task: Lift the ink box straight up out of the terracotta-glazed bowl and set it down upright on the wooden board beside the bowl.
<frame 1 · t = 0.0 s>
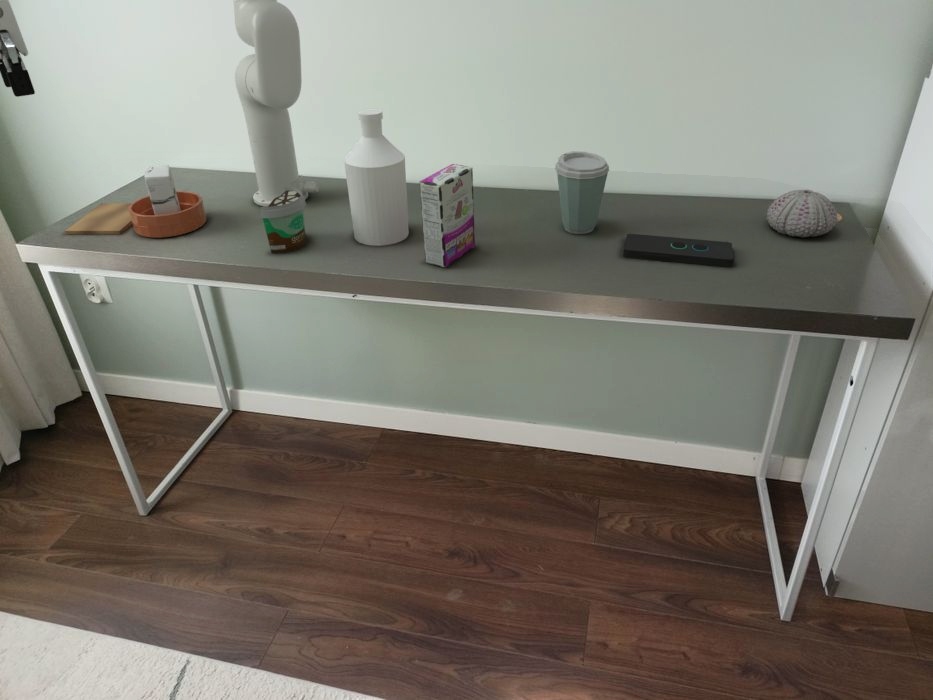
hand: (20, 90, 125), 31 cm above the table, tool pointing down, fingers open, 9 cm apart
disposable coffee cup: (577, 229, 146), on the table
ink box: (171, 224, 152), resting on bowl
candy bar box: (449, 256, 137), on the table
wooden board: (111, 219, 155), on the table
sea urchin shell: (797, 229, 144), on the table
bottle: (381, 235, 146), on the table
bowl: (171, 225, 152), on the table
food container: (295, 245, 142), on the table
smart home device: (676, 254, 135), on the table
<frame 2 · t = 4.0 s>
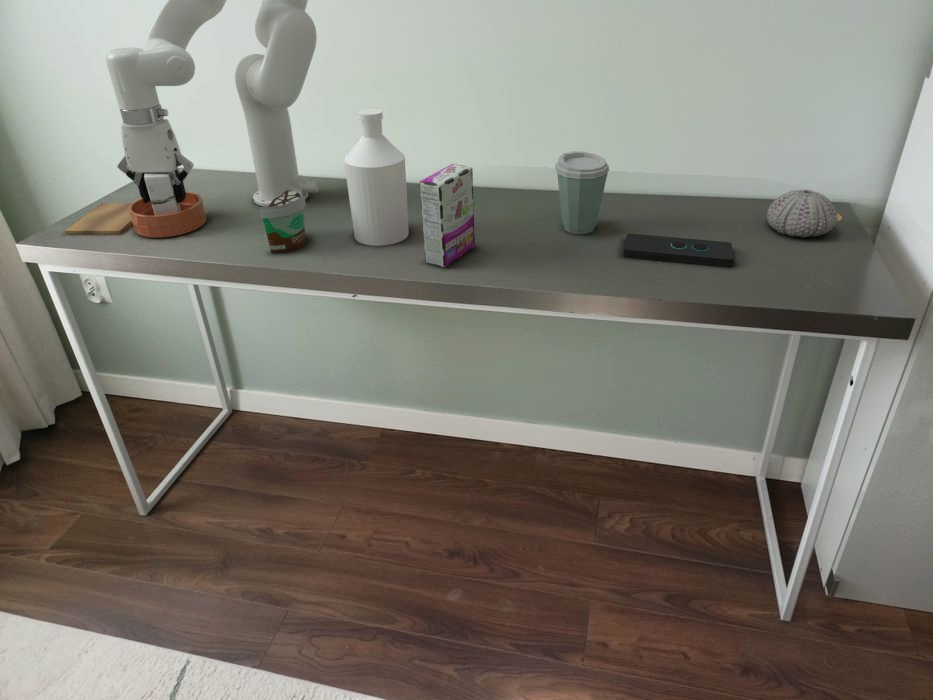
hand: (164, 200, 149), 6 cm above the table, tool pointing down, fingers closed on ink box, 6 cm apart
ink box: (171, 224, 152), resting on bowl, touching gripper
everything else where it was.
when the fingers open (6 cm above the table, at t = 11.5 s): ink box stays where it is, resting on wooden board.
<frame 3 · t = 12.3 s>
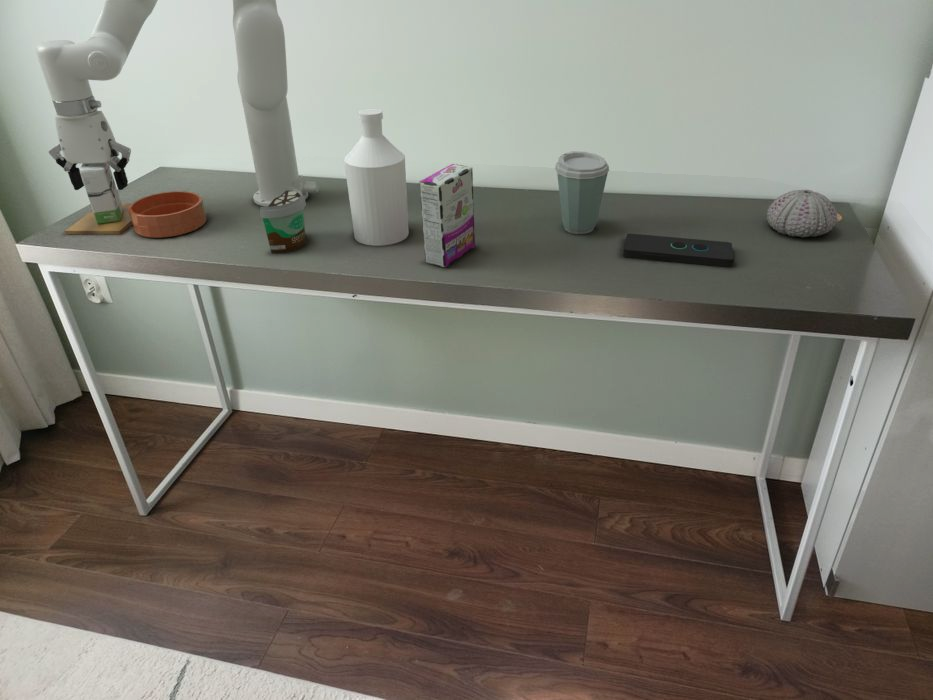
hand: (101, 187, 152), 7 cm above the table, tool pointing down, fingers open, 9 cm apart
ink box: (110, 217, 155), point 1 cm above the table, touching wooden board
everything else where it was.
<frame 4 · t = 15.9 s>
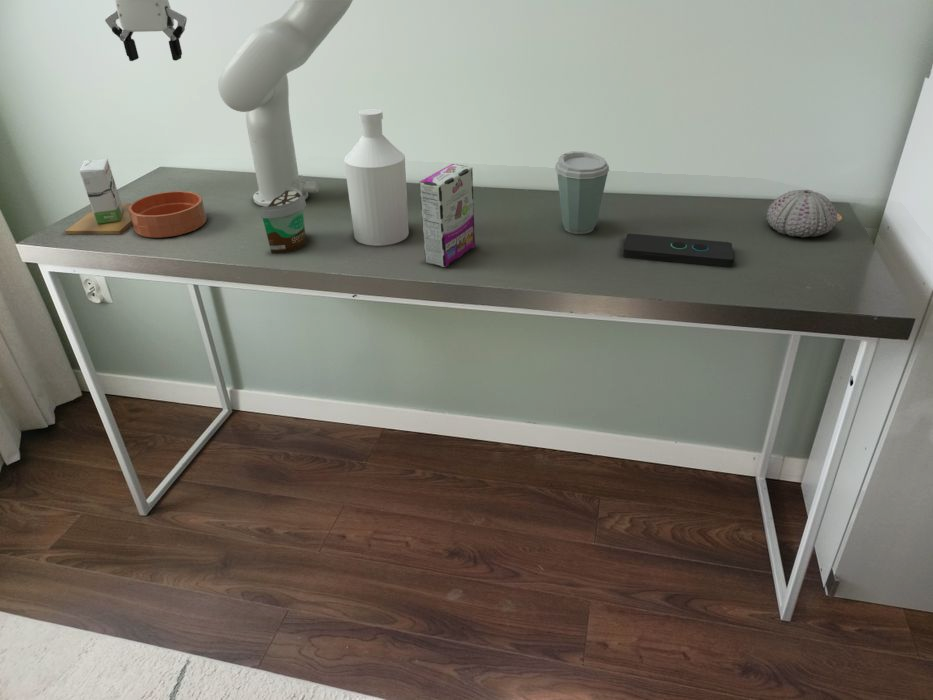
hand: (155, 59, 153), 30 cm above the table, tool pointing down, fingers open, 9 cm apart
nothing on the table moved.
at the end: ink box inside the target area on the wooden board (0.0 cm from its centre), point 0.6 cm above the wooden board's base; ink box tilted 0°; the gripper is holding nothing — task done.
